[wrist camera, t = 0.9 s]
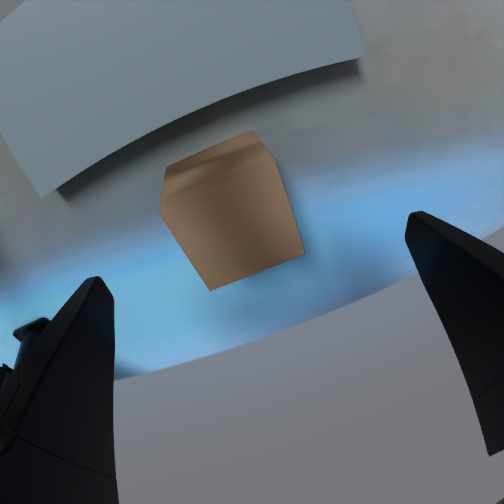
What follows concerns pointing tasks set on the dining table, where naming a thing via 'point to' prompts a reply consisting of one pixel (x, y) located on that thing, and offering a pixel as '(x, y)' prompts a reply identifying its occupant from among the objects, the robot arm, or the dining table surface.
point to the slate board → (145, 68)
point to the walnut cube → (230, 211)
